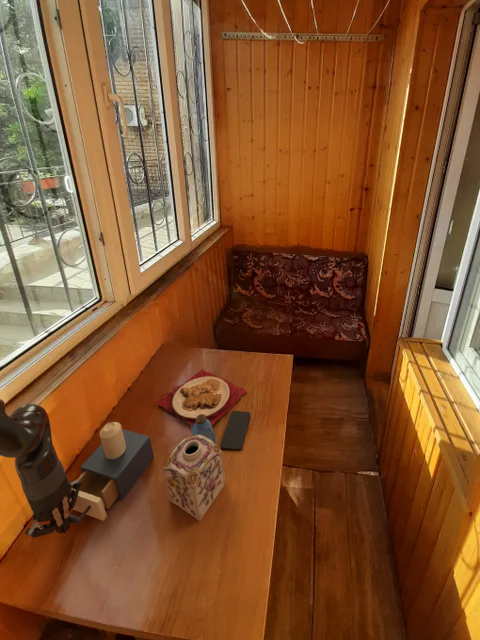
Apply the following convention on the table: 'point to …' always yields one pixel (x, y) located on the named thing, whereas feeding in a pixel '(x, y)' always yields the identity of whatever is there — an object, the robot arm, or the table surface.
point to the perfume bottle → (203, 428)
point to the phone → (235, 430)
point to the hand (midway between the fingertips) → (64, 529)
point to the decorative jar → (194, 475)
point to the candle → (113, 440)
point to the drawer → (94, 496)
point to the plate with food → (202, 398)
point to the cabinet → (123, 462)
